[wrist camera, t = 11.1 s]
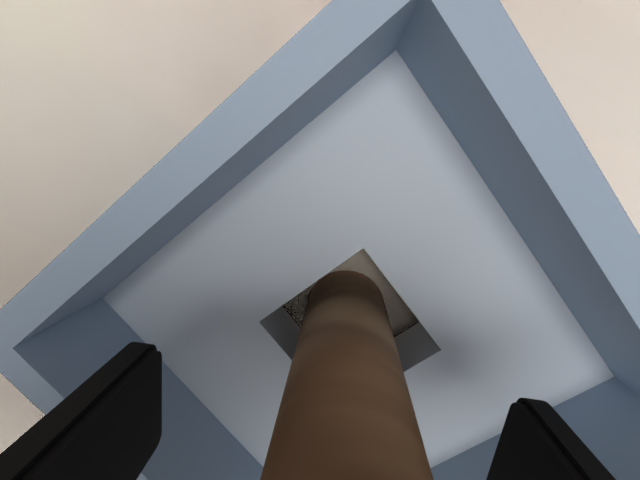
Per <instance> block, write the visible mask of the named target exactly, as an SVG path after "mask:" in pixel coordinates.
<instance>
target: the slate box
mask: <svg viewBox="0 0 640 480" xmlns="http://www.w3.org/2000/svg"><path fill="white" fill-rule="evenodd" d="M363 248H364V250H365V251H366V252H367V254H368V255H369V256H370V257H371V259H372V260H373V261H374V263H375V264H376V265H377V267H378V268H379V269H380V271H381V272H382V273H383V274H384V276H385V277H386V278H387V280H388V281H389V282H390V284H391V285H392V286H393V288H394V289H395V290H396V291H397V293H398V294H399V295H400V297H401V298H402V299H403V301H404V302H405V303H406V305H407V306H408V307H409V308H410V310H411V311H412V312H413V314H414V315H415V316H416V318H417V319H418V320H419V321H420V322H418V323H417V324H415V325H413V326H412V327H410V328H408V329H407V330H405V331H404V332H402V333H400V334H399V335H397V336H396V337H394V340H395V344H396V347H397V351H398V354H399V358H400V362H401V365H402V369H403V372H404V376H405V379H406V383H407V387H408V390H409V394H410V397H411V401H412V405H413V408H414V412H415V415H416V419H417V422H418V426H419V430H420V433H421V437H422V440H423V444H424V448H425V451H426V455H427V458H428V462H429V465H430V469H431V473H432V476H433V480H486V478H487V475H488V472H489V469H490V466H491V463H492V460H493V457H494V454H495V451H496V448H497V445H498V442H499V439H500V436H501V432H502V429H503V426H504V423H505V420H506V417H507V414H508V411H509V408H510V406H511V404H512V403H516V401H517V400H518V399H519V398H529V399H536V400H543V401H546V402H547V403H549V404H550V405H551V406H552V407H553V409H554V410H555V411H556V412H557V413H558V414H559V415H560V417H561V418H562V419H563V420H564V421H565V422H566V423H567V424H568V426H569V427H570V428H571V429H572V430H573V431H574V432H575V434H576V435H577V436H578V437H579V438H580V439H581V440H582V442H583V443H584V444H585V445H586V446H587V447H588V448H589V449H590V451H591V452H592V453H593V454H594V455H595V456H596V457H597V459H598V460H599V461H600V462H601V463H602V464H603V465H604V467H605V468H606V469H607V470H608V471H609V472H610V473H611V474H612V476H613V477H614V478H615V479H616V480H640V235H639V233H638V232H637V230H636V228H635V227H634V225H633V223H632V222H631V220H630V218H629V217H628V215H627V213H626V212H625V210H624V208H623V207H622V205H621V203H620V202H619V200H618V198H617V197H616V195H615V193H614V192H613V190H612V188H611V187H610V185H609V183H608V181H607V180H606V178H605V176H604V175H603V173H602V171H601V170H600V168H599V166H598V165H597V163H596V161H595V160H594V158H593V156H592V155H591V153H590V151H589V150H588V148H587V146H586V145H585V143H584V141H583V140H582V138H581V136H580V135H579V133H578V131H577V130H576V128H575V126H574V125H573V123H572V121H571V119H570V118H569V116H568V114H567V113H566V111H565V109H564V108H563V106H562V104H561V103H560V101H559V99H558V98H557V96H556V94H555V93H554V91H553V89H552V88H551V86H550V84H549V83H548V81H547V79H546V78H545V76H544V74H543V73H542V71H541V69H540V68H539V66H538V64H537V63H536V61H535V59H534V57H533V56H532V54H531V52H530V51H529V49H528V47H527V46H526V44H525V42H524V41H523V39H522V37H521V36H520V34H519V32H518V31H517V29H516V27H515V26H514V24H513V22H512V21H511V19H510V17H509V16H508V14H507V12H506V11H505V9H504V7H503V6H502V4H501V2H500V1H499V0H332V1H331V2H330V3H329V4H328V5H327V6H326V7H325V8H324V9H322V10H321V11H320V12H319V13H318V14H317V15H316V16H315V17H314V18H313V19H312V20H311V21H310V22H309V23H307V24H306V25H305V26H304V27H303V28H302V29H301V30H300V31H299V32H298V33H297V34H296V35H295V36H293V37H292V38H291V39H290V40H289V41H288V42H287V43H286V44H285V45H284V46H283V47H282V48H281V49H280V50H278V51H277V52H276V53H275V54H274V55H273V56H272V57H271V58H270V59H269V60H268V61H267V62H266V63H265V64H263V65H262V66H261V67H260V68H259V69H258V70H257V71H256V72H255V73H254V74H253V75H252V76H251V77H249V78H248V79H247V80H246V81H245V82H244V83H243V84H242V85H241V86H240V87H239V88H238V89H237V90H236V91H234V92H233V93H232V94H231V95H230V96H229V97H228V98H227V99H226V100H225V101H224V102H223V103H222V104H221V105H219V106H218V107H217V108H216V109H215V110H214V111H213V112H212V113H211V114H210V115H209V116H208V117H207V118H206V119H204V120H203V121H202V122H201V123H200V124H199V125H198V126H197V127H196V128H195V129H194V130H193V131H192V132H190V133H189V134H188V135H187V136H186V137H185V138H184V139H183V140H182V141H181V142H180V143H179V144H178V145H177V146H175V147H174V148H173V149H172V150H171V151H170V152H169V153H168V154H167V155H166V156H165V157H164V158H163V159H162V160H160V161H159V162H158V163H157V164H156V165H155V166H154V167H153V168H152V169H151V170H150V171H149V172H148V173H146V174H145V175H144V176H143V177H142V178H141V179H140V180H139V181H138V182H137V183H136V184H135V185H134V186H133V187H131V188H130V189H129V190H128V191H127V192H126V193H125V194H124V195H123V196H122V197H121V198H120V199H119V200H118V201H116V202H115V203H114V204H113V205H112V206H111V207H110V208H109V209H108V210H107V211H106V212H105V213H104V214H102V215H101V216H100V217H99V218H98V219H97V220H96V221H95V222H94V223H93V224H92V225H91V226H90V227H89V228H87V229H86V230H85V231H84V232H83V233H82V234H81V235H80V236H79V237H78V238H77V239H76V240H75V241H74V242H72V243H71V244H70V245H69V246H68V247H67V248H66V249H65V250H64V251H63V252H62V253H61V254H60V255H58V256H57V257H56V258H55V259H54V260H53V261H52V262H51V263H50V264H49V265H48V266H47V267H46V268H45V269H43V270H42V271H41V272H40V273H39V274H38V275H37V276H36V277H35V278H34V279H33V280H32V281H31V282H30V283H28V284H27V285H26V286H25V287H24V288H23V289H22V290H21V291H20V292H19V293H18V294H17V295H16V296H15V297H13V298H12V299H11V300H10V301H9V302H8V303H7V304H6V305H5V306H4V307H3V308H2V309H1V310H0V373H1V374H2V375H3V376H4V377H6V378H7V379H8V380H9V381H10V382H11V383H12V384H13V385H14V386H15V387H16V388H17V389H18V390H19V391H20V392H21V393H22V394H24V395H25V396H26V397H27V398H28V399H29V400H30V401H31V402H32V403H33V404H34V405H35V406H36V407H37V408H38V409H39V410H40V411H42V412H43V413H44V414H45V415H46V414H48V413H49V412H50V411H51V410H52V409H53V408H55V407H56V406H57V405H58V404H59V403H60V402H61V401H63V400H64V399H65V398H66V397H67V396H68V395H70V394H71V393H72V392H73V391H74V390H75V389H77V388H78V387H79V386H80V385H81V384H82V383H84V382H85V381H86V380H87V379H88V378H89V377H90V376H92V375H93V374H94V373H95V372H96V371H97V370H99V369H100V368H101V367H102V366H103V365H104V364H106V363H107V362H108V361H109V360H110V359H111V358H112V357H114V356H115V355H116V354H117V353H118V352H119V351H121V350H122V349H123V348H124V347H125V346H126V345H128V344H129V343H130V342H140V343H147V344H154V345H155V346H156V348H157V351H160V352H161V354H162V435H161V439H160V442H159V444H158V446H157V448H156V450H155V451H154V453H153V455H152V456H151V458H150V459H149V461H148V462H147V464H146V466H145V467H144V469H143V470H142V472H141V473H140V475H139V477H138V478H137V480H260V478H261V474H262V470H263V467H264V463H265V459H266V456H267V452H268V448H269V444H270V441H271V437H272V433H273V429H274V426H275V422H276V418H277V415H278V411H279V407H280V403H281V400H282V396H283V392H284V388H285V385H286V381H287V377H288V373H289V370H290V366H291V362H292V359H293V355H294V351H295V347H296V344H297V340H298V336H299V332H300V329H301V328H300V327H299V326H298V324H297V323H296V322H295V321H294V320H293V318H292V317H291V316H290V315H289V314H288V313H287V311H286V310H285V309H284V308H283V307H282V305H284V304H285V303H286V302H288V301H289V300H291V299H292V298H293V297H295V296H296V295H298V294H299V293H301V292H302V291H303V290H305V289H306V288H308V287H309V286H310V285H312V284H313V283H315V282H316V281H318V280H319V279H320V278H322V277H323V276H325V275H326V274H327V273H329V272H330V271H332V270H333V269H335V268H336V267H337V266H339V265H340V264H342V263H343V262H344V261H346V260H347V259H349V258H350V257H352V256H353V255H354V254H356V253H357V252H359V251H360V250H361V249H363Z"/></svg>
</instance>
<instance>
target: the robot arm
mask: <svg viewBox="0 0 640 480" xmlns="http://www.w3.org/2000/svg"><path fill="white" fill-rule="evenodd" d="M161 435H162V354H161V352H160V351H157V348H156V346H155V345H154V344H147V343H140V342H130V343H129V344H128V345H126V346H125V347H124V348H123V349H122V350H121V351H119V352H118V353H117V354H116V355H115V356H114V357H112V358H111V359H110V360H109V361H108V362H107V363H106V364H104V365H103V366H102V367H101V368H100V369H99V370H97V371H96V372H95V373H94V374H93V375H92V376H90V377H89V378H88V379H87V380H86V381H85V382H84V383H82V384H81V385H80V386H79V387H78V388H77V389H75V390H74V391H73V392H72V393H71V394H70V395H68V396H67V397H66V398H65V399H64V400H63V401H61V402H60V403H59V404H58V405H57V406H56V407H55V408H53V409H52V410H51V411H50V412H49V413H48V414H46V415H45V416H44V417H43V418H42V419H41V420H39V421H38V422H37V423H36V424H35V425H34V426H33V427H31V428H30V429H29V430H28V431H27V432H26V433H24V434H23V435H22V436H21V437H20V438H19V439H17V440H16V441H15V442H14V443H13V444H12V445H11V446H9V447H8V448H7V449H6V450H5V451H4V452H2V453H1V454H0V480H137V478H138V477H139V475H140V473H141V472H142V470H143V469H144V467H145V466H146V464H147V462H148V461H149V459H150V458H151V456H152V455H153V453H154V451H155V450H156V448H157V446H158V444H159V442H160V439H161ZM486 480H616V479H615V478H614V477H613V476H612V474H611V473H610V472H609V471H608V470H607V469H606V468H605V467H604V465H603V464H602V463H601V462H600V461H599V460H598V459H597V457H596V456H595V455H594V454H593V453H592V452H591V451H590V449H589V448H588V447H587V446H586V445H585V444H584V443H583V442H582V440H581V439H580V438H579V437H578V436H577V435H576V434H575V432H574V431H573V430H572V429H571V428H570V427H569V426H568V424H567V423H566V422H565V421H564V420H563V419H562V418H561V417H560V415H559V414H558V413H557V412H556V411H555V410H554V409H553V407H552V406H551V405H550V404H549V403H547V402H546V401H543V400H536V399H529V398H519V399H518V400H517V401H516V403H512V404H511V406H510V408H509V411H508V414H507V417H506V420H505V423H504V426H503V429H502V432H501V436H500V439H499V442H498V445H497V448H496V451H495V454H494V457H493V460H492V463H491V466H490V469H489V472H488V475H487V478H486Z"/></svg>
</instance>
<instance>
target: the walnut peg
mask: <svg viewBox="0 0 640 480" xmlns="http://www.w3.org/2000/svg"><path fill="white" fill-rule="evenodd" d="M260 480H433V476H432V473H431V469H430V465H429V462H428V458H427V455H426V451H425V448H424V444H423V440H422V437H421V433H420V430H419V426H418V422H417V419H416V415H415V412H414V408H413V405H412V401H411V397H410V394H409V390H408V387H407V383H406V379H405V376H404V372H403V369H402V365H401V362H400V358H399V354H398V351H397V347H396V344H395V340H394V336H393V333H392V329H391V326H390V322H389V319H388V315H387V311H386V308H385V304H384V301H383V297H382V294H381V292H380V290H379V288H378V287H377V286H376V284H375V283H374V282H373V281H372V280H370V279H369V278H368V277H366V276H364V275H362V274H360V273H357V272H353V271H338V272H334V273H331V274H328V275H326V276H325V277H323V278H322V279H320V280H319V281H318V282H317V283H316V284H315V286H314V287H313V289H312V291H311V293H310V295H309V299H308V303H307V306H306V310H305V314H304V317H303V321H302V325H301V329H300V332H299V336H298V340H297V344H296V347H295V351H294V355H293V359H292V362H291V366H290V370H289V373H288V377H287V381H286V385H285V388H284V392H283V396H282V400H281V403H280V407H279V411H278V415H277V418H276V422H275V426H274V429H273V433H272V437H271V441H270V444H269V448H268V452H267V456H266V459H265V463H264V467H263V470H262V474H261V478H260Z"/></svg>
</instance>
